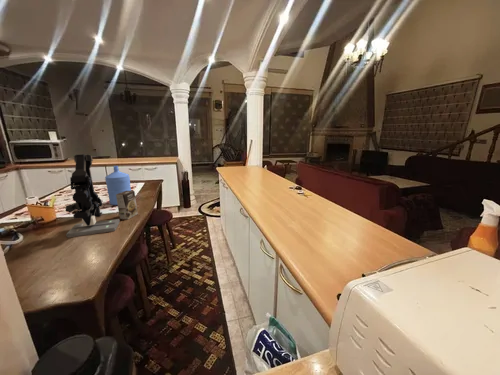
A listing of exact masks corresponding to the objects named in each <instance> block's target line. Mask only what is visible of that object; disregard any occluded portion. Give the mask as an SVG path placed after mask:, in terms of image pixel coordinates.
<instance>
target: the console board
mask: <svg viewBox="0 0 500 375" xmlns="http://www.w3.org/2000/svg"><path fill="white" fill-rule="evenodd" d="M119 225H120V218H114V219H113V218H112V219H107V220H98V221H97V220H96V223H95V224H94V225H91V226H83V223H82V222H81V223H75V224H74V225H73V226H72V227H71V229H69V230H68V232H67V233H66V234H65V235H66V238H73V237H81V236H89V235H94V234H104V233H110V232H115V231H116V230H117V228H118V226H119Z"/></svg>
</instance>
